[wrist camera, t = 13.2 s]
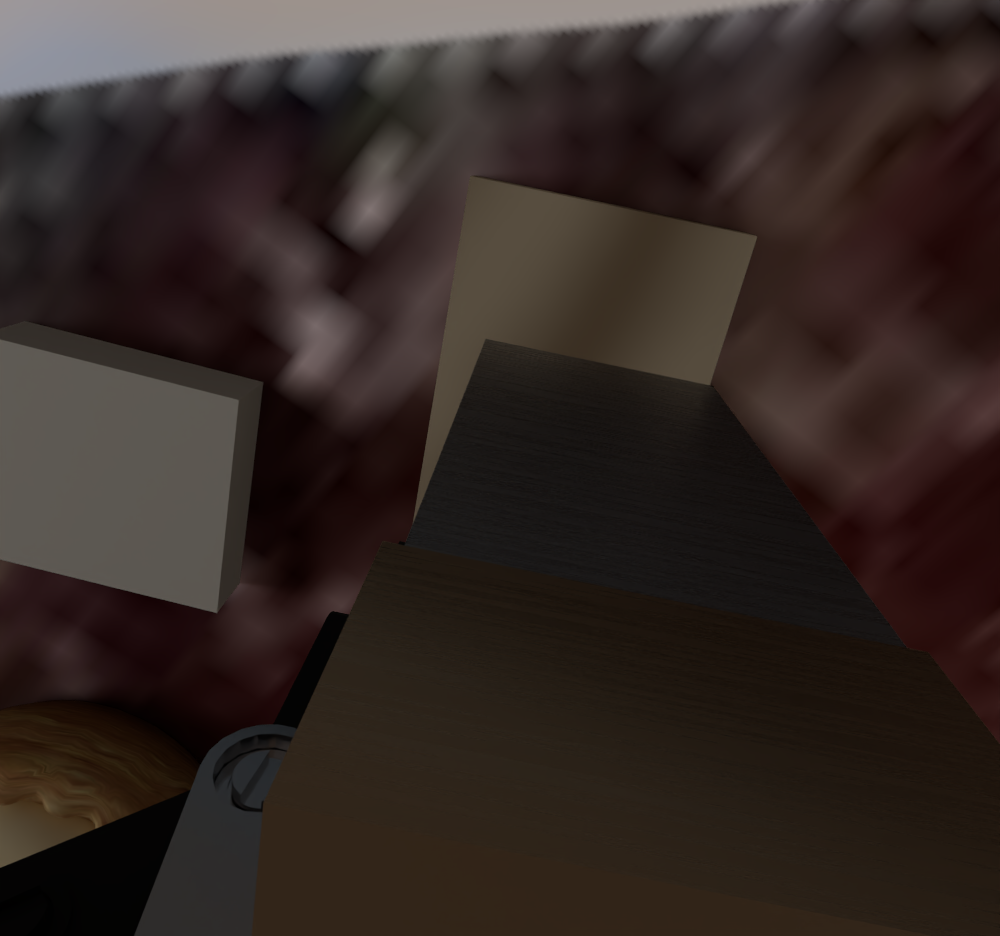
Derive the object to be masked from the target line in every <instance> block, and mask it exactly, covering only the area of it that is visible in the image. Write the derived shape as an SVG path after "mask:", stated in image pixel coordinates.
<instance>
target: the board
mask: <svg viewBox="0 0 1000 936" xmlns="http://www.w3.org/2000/svg"><path fill="white" fill-rule="evenodd" d="M756 239H757V236H755V235H752V234H749V233H746V232H741V231H736V230H732V229H727V228H722V227H717V226H713V225H708V224H703V223H698V222H694V221H689V220H684V219H680V218H675V217H670V216H665V215H661V214H656V213H651V212H646V211H642V210H637V209H632V208H627V207H623V206H618V205H613V204H608V203H604V202H599V201H594V200H589V199H585V198H580V197H575V196H570V195H566V194H561V193H556V192H551V191H547V190H542V189H537V188H533V187H528V186H523V185H518V184H514V183H509V182H504V181H499V180H495V179H490V178H485V177H480V176H470V181H469V187H468V193H467V199H466V205H465V211H464V217H463V223H462V229H461V235H460V241H459V247H458V254H457V260H456V266H455V272H454V278H453V284H452V290H451V296H450V302H449V308H448V314H447V320H446V326H445V332H444V338H443V344H442V350H441V356H440V363H439V369H438V375H437V381H436V387H435V393H434V399H433V405H432V411H431V417H430V423H429V429H428V435H427V441H426V447H425V453H424V459H423V466H422V472H421V478H420V484H419V490H418V496H417V502H416V508H415V514H414V520H415V517H416V515H417V512H418V510H419V507H420V505H421V502H422V500H423V497H424V495H425V492H426V489H427V487H428V484H429V482H430V479H431V477H432V474H433V472H434V469H435V467H436V464H437V461H438V459H439V456H440V454H441V451H442V449H443V446H444V444H445V441H446V439H447V436H448V433H449V431H450V428H451V426H452V423H453V421H454V418H455V416H456V413H457V411H458V408H459V405H460V403H461V400H462V398H463V395H464V393H465V390H466V388H467V385H468V383H469V380H470V377H471V375H472V372H473V370H474V367H475V365H476V362H477V360H478V357H479V355H480V352H481V349H482V347H483V344H484V342H485V339H489V340H494V341H499V342H504V343H509V344H513V345H518V346H523V347H528V348H533V349H537V350H542V351H547V352H552V353H557V354H562V355H566V356H571V357H576V358H581V359H586V360H590V361H595V362H600V363H605V364H610V365H614V366H619V367H624V368H629V369H634V370H639V371H643V372H648V373H653V374H658V375H663V376H667V377H672V378H677V379H682V380H687V381H691V382H696V383H701V384H706V385H710V384H711V380H712V377H713V374H714V371H715V368H716V365H717V362H718V358H719V355H720V352H721V349H722V346H723V343H724V340H725V337H726V333H727V330H728V327H729V324H730V321H731V318H732V315H733V311H734V308H735V305H736V302H737V299H738V296H739V293H740V289H741V286H742V283H743V280H744V277H745V274H746V271H747V268H748V264H749V261H750V258H751V255H752V252H753V249H754V246H755V242H756ZM414 520H413V523H414Z"/></svg>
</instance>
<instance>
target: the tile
mask: <svg viewBox="0 0 1000 936" xmlns="http://www.w3.org/2000/svg"><path fill="white" fill-rule="evenodd" d="M262 389H263V382H261V381H257V380H253V379H249V378H245V377H241V376H237V375H234V374H230V373H226V372H222V371H218V370H214V369H210V368H206V367H202V366H198V365H194V364H191V363H187V362H183V361H179V360H175V359H171V358H167V357H163V356H159V355H155V354H152V353H148V352H144V351H140V350H136V349H132V348H128V347H124V346H120V345H116V344H113V343H109V342H105V341H101V340H97V339H93V338H89V337H85V336H81V335H77V334H73V333H70V332H66V331H62V330H58V329H54V328H50V327H46V326H42V325H38V324H34V323H31V322H27V321H25V322H22V323H18V324H15V325H11V326H8V327H5V328H1V329H0V559H1V560H5V561H9V562H13V563H17V564H21V565H25V566H29V567H33V568H37V569H41V570H45V571H49V572H53V573H57V574H61V575H66V576H70V577H74V578H78V579H82V580H86V581H90V582H94V583H98V584H102V585H106V586H110V587H114V588H118V589H122V590H126V591H130V592H134V593H138V594H143V595H147V596H151V597H155V598H159V599H163V600H167V601H171V602H175V603H179V604H183V605H187V606H191V607H195V608H199V609H203V610H207V611H211V612H215V613H217V612H218V611H219V609H220V608H221V607H222V606H223V604H224V603H225V602H226V600H227V599H228V598H229V596H230V595H231V594H232V593H233V591H234V590H235V589H236V587H237V586H238V585H239V583H240V576H241V567H242V559H243V550H244V542H245V533H246V525H247V516H248V508H249V499H250V491H251V482H252V474H253V465H254V457H255V448H256V440H257V432H258V423H259V415H260V406H261V398H262Z"/></svg>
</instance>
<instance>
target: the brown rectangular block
mask: <svg viewBox="0 0 1000 936" xmlns="http://www.w3.org/2000/svg"><path fill="white" fill-rule="evenodd" d="M252 936H1000V744H999V742H998V741H997V740H996V739H995V737H994V736H993V735H992V733H991V732H990V731H989V730H988V728H987V727H986V726H985V724H984V723H983V722H982V721H981V719H980V718H979V717H978V715H977V714H976V713H975V712H974V710H973V709H972V708H971V706H970V705H969V704H968V703H967V701H966V700H965V699H964V697H963V696H962V695H961V694H960V692H959V691H958V690H957V688H956V687H955V686H954V685H953V683H952V682H951V681H950V680H949V678H948V677H947V676H946V674H945V673H944V672H943V671H942V669H941V668H940V667H939V665H938V664H937V663H936V662H935V660H934V659H933V658H932V656H931V655H930V654H929V653H928V652H924V651H919V650H914V649H910V648H907V647H906V646H905V645H904V643H903V642H902V641H901V639H900V638H899V636H898V635H897V634H896V632H895V631H894V630H893V628H892V627H891V626H890V624H889V623H888V622H887V620H886V619H885V618H884V616H883V615H882V614H881V612H880V611H879V610H878V608H877V607H876V605H875V604H874V603H873V601H872V600H871V599H870V597H869V596H868V595H867V593H866V592H865V591H864V589H863V588H862V587H861V585H860V584H859V583H858V581H857V580H856V578H855V577H854V576H853V574H852V573H851V572H850V570H849V569H848V568H847V566H846V565H845V564H844V562H843V561H842V560H841V558H840V557H839V556H838V554H837V553H836V551H835V550H834V549H833V547H832V546H831V545H830V543H829V542H828V541H827V539H826V538H825V537H824V535H823V534H822V533H821V531H820V530H819V529H818V527H817V526H816V524H815V523H814V522H813V520H812V519H811V518H810V516H809V515H808V514H807V512H806V511H805V510H804V508H803V507H802V506H801V504H800V503H799V502H798V500H797V499H796V497H795V496H794V495H793V493H792V492H791V491H790V489H789V488H788V487H787V485H786V484H785V483H784V481H783V480H782V479H781V477H780V476H779V475H778V473H777V472H776V470H775V469H774V468H773V466H772V465H771V464H770V462H769V461H768V460H767V458H766V457H765V456H764V454H763V453H762V452H761V450H760V449H759V448H758V446H757V445H756V443H755V442H754V441H753V439H752V438H751V437H750V435H749V434H748V433H747V431H746V430H745V429H744V427H743V426H742V425H741V423H740V422H739V421H738V419H737V418H736V416H735V415H734V414H733V412H732V411H731V410H730V408H729V407H728V406H727V404H726V403H725V402H724V400H723V399H722V398H721V396H720V395H719V394H718V392H717V391H716V390H715V388H714V387H713V386H711V385H706V384H701V383H696V382H691V381H687V380H682V379H677V378H672V377H667V376H663V375H658V374H653V373H648V372H643V371H639V370H634V369H629V368H624V367H619V366H614V365H610V364H605V363H600V362H595V361H590V360H586V359H581V358H576V357H571V356H566V355H562V354H557V353H552V352H547V351H542V350H537V349H533V348H528V347H523V346H518V345H513V344H509V343H504V342H499V341H494V340H489V339H485V342H484V344H483V347H482V349H481V352H480V355H479V357H478V360H477V362H476V365H475V367H474V370H473V372H472V375H471V377H470V380H469V383H468V385H467V388H466V390H465V393H464V395H463V398H462V400H461V403H460V405H459V408H458V411H457V413H456V416H455V418H454V421H453V423H452V426H451V428H450V431H449V433H448V436H447V439H446V441H445V444H444V446H443V449H442V451H441V454H440V456H439V459H438V461H437V464H436V467H435V469H434V472H433V474H432V477H431V479H430V482H429V484H428V487H427V489H426V492H425V495H424V497H423V500H422V502H421V505H420V507H419V510H418V512H417V515H416V517H415V520H414V523H413V525H412V528H411V530H410V533H409V535H408V538H407V540H406V543H405V545H399V544H395V543H390V542H385V541H383V542H382V544H381V546H380V548H379V550H378V553H377V555H376V557H375V559H374V561H373V564H372V566H371V568H370V570H369V572H368V574H367V577H366V579H365V581H364V583H363V585H362V588H361V590H360V592H359V594H358V596H357V599H356V601H355V603H354V605H353V607H352V610H351V612H350V614H349V616H348V618H347V621H346V623H345V625H344V627H343V629H342V632H341V634H340V636H339V638H338V640H337V642H336V645H335V647H334V649H333V651H332V653H331V656H330V658H329V660H328V662H327V664H326V667H325V669H324V671H323V673H322V675H321V678H320V680H319V682H318V684H317V686H316V689H315V691H314V693H313V695H312V697H311V699H310V702H309V704H308V706H307V708H306V710H305V713H304V715H303V717H302V719H301V721H300V724H299V726H298V728H297V730H296V732H295V735H294V737H293V739H292V741H291V743H290V746H289V748H288V750H287V752H286V754H285V756H284V759H283V761H282V763H281V765H280V767H279V770H278V772H277V774H276V776H275V778H274V781H273V783H272V785H271V787H270V789H269V792H268V794H267V796H266V798H265V800H264V803H263V813H262V824H261V835H260V847H259V858H258V869H257V880H256V891H255V903H254V914H253V925H252Z"/></svg>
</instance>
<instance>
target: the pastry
mask: <svg viewBox="0 0 1000 936" xmlns="http://www.w3.org/2000/svg"><path fill="white" fill-rule="evenodd" d="M199 767H200V764H199V763H198V762H197V760H196V759H195V758H194V757H193V756H192V754H191V753H190V752H189V751H187V750H186V749H185V748H184V747H183V746H182V745H180V744H179V743H178V742H177V741H176V740H174V739H173V738H172V737H170V736H169V735H168V734H166V733H165V732H163V731H162V730H161V729H159V728H158V727H156V726H154V725H152V724H150V723H148V722H146V721H144V720H142V719H140V718H138V717H136V716H133V715H131V714H129V713H126V712H124V711H121V710H119V709H116V708H112V707H108V706H104V705H100V704H95V703H89V702H83V701H77V700H54V701H45V702H36V703H31V704H25V705H19V706H13V707H9V708H6V709H2V710H0V868H1V867H3V866H6V865H8V864H11V863H13V862H16V861H18V860H20V859H23V858H25V857H28V856H30V855H33V854H35V853H38V852H40V851H42V850H45V849H47V848H50V847H52V846H55V845H57V844H59V843H62V842H64V841H67V840H69V839H72V838H74V837H76V836H79V835H81V834H84V833H86V832H89V831H91V830H94V829H96V828H98V827H101V826H103V825H106V824H108V823H111V822H113V821H115V820H118V819H120V818H123V817H125V816H128V815H130V814H132V813H135V812H137V811H140V810H142V809H145V808H147V807H150V806H152V805H154V804H157V803H159V802H162V801H164V800H167V799H169V798H171V797H174V796H176V795H179V794H181V793H184V792H186V791H189V790H191V788H192V785H193V783H194V780H195V777H196V775H197V772H198V770H199Z"/></svg>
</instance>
